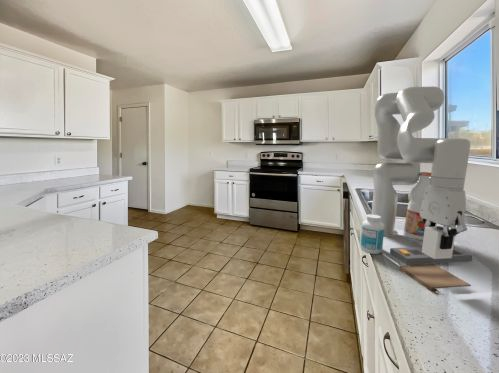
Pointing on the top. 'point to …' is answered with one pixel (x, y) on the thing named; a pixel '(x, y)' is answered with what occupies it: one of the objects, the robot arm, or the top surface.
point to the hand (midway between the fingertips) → (437, 244)
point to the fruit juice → (416, 209)
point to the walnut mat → (432, 276)
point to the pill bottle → (372, 235)
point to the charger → (435, 243)
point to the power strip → (417, 257)
